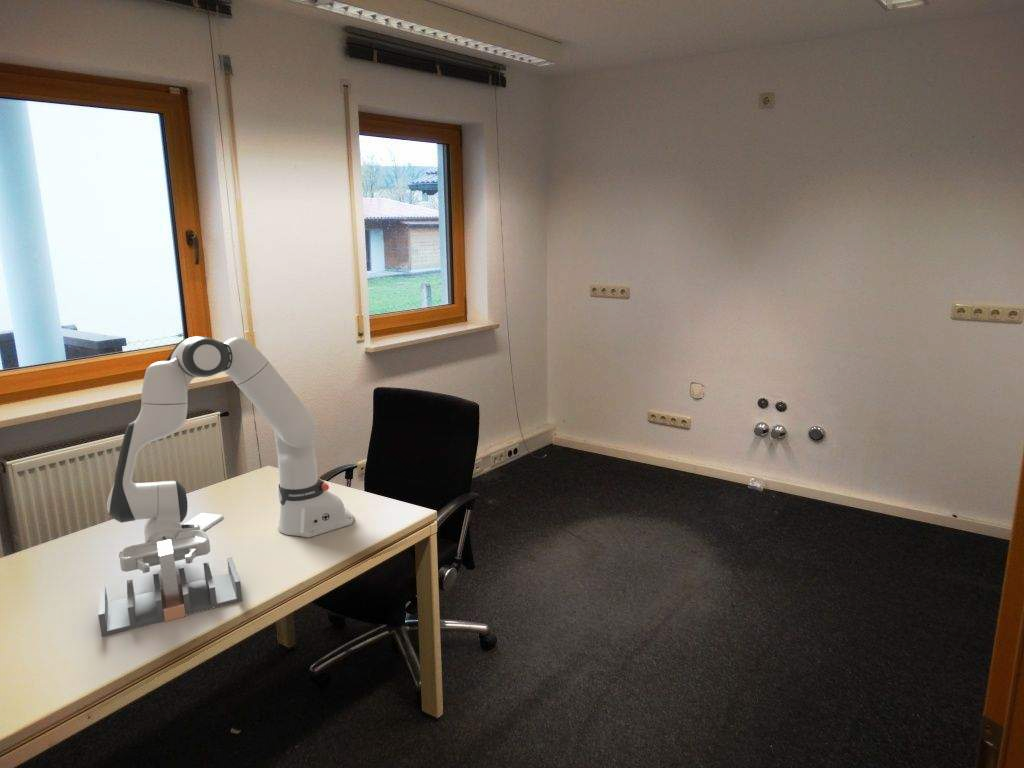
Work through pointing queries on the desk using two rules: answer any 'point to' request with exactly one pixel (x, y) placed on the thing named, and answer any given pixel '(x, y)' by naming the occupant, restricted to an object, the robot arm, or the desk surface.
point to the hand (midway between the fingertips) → (167, 565)
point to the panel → (168, 573)
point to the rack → (153, 603)
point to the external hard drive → (205, 520)
